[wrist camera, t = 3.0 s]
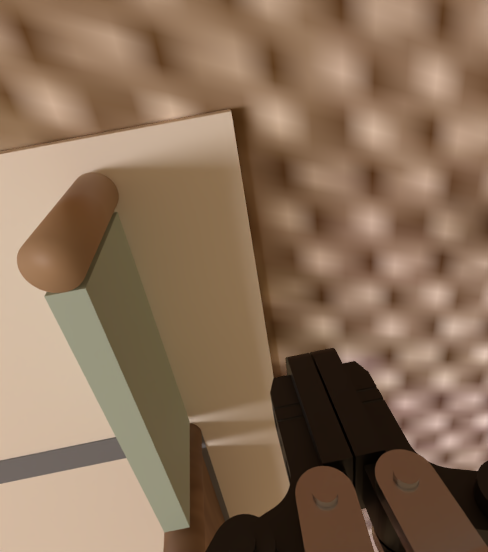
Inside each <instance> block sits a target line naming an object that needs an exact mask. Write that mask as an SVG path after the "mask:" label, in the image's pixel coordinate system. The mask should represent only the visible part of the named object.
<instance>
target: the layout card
mask: <svg viewBox="0 0 488 552" xmlns="http://www.w3.org/2000/svg"><path fill="white" fill-rule="evenodd" d="M89 172H95V173H100V174H103V175H105V176H107V177H108V178H109V179H111V180H112V181H113V183H114V184H115V185H116V187H117V190H118V193H119V200H118V204H117V206H116V208H115V210H114V213H115V212H118V215H119V218H120V221H121V224H122V227H123V229H124V232H125V235H126V238H127V241H128V244H129V247H130V250H131V253H132V256H133V259H134V261H135V264H136V267H137V270H138V273H139V276H140V279H141V282H142V285H143V288H144V290H145V293H146V296H147V299H148V302H149V305H150V308H151V311H152V314H153V317H154V320H155V322H156V325H157V328H158V331H159V334H160V337H161V340H162V343H163V346H164V349H165V351H166V354H167V357H168V360H169V363H170V366H171V369H172V372H173V375H174V378H175V381H176V383H177V386H178V389H179V392H180V395H181V398H182V401H183V404H184V407H185V410H186V413H187V415H188V418H189V421H190V423H191V424H195V425H197V426H198V427H199V428H200V429H201V433H202V455H203V458H204V461H205V464H206V467H207V470H208V473H209V476H210V479H211V482H212V485H213V487H214V490H215V493H216V496H217V499H218V502H219V505H220V508H221V511H222V514H223V517H224V520H225V521H226V520H228V519H229V518H231V517H233V516H236V515H239V514H251V515H255V516H257V517H260V516H262V515H263V514H265V513H266V512H268V511H269V510H271V509H273V508H274V507H275V506H277V505H278V504H279V503H280V502H281V501H282V500H283V498H284V497H285V496H286V494H287V492H288V489H289V486H290V484H289V480H288V476H287V472H286V467H285V463H284V459H283V455H282V451H281V447H280V443H279V439H278V435H277V431H276V427H275V421H274V415H273V409H272V402H271V396H270V391H271V386H272V382H273V378H274V376H273V370H272V363H271V357H270V351H269V345H268V338H267V332H266V326H265V320H264V313H263V307H262V301H261V295H260V288H259V282H258V276H257V270H256V263H255V257H254V251H253V245H252V238H251V232H250V226H249V220H248V213H247V207H246V201H245V195H244V188H243V182H242V176H241V170H240V163H239V157H238V151H237V145H236V138H235V132H234V126H233V120H232V113H231V110H230V109H227V110H222V111H217V112H211V113H206V114H200V115H195V116H190V117H184V118H179V119H173V120H168V121H163V122H157V123H152V124H147V125H141V126H136V127H130V128H125V129H120V130H114V131H109V132H103V133H98V134H93V135H87V136H82V137H76V138H71V139H66V140H60V141H55V142H49V143H44V144H39V145H33V146H28V147H23V148H17V149H12V150H6V151H1V152H0V552H163V548H164V531H163V529H162V527H161V525H160V523H159V521H158V519H157V517H156V515H155V513H154V511H153V509H152V507H151V505H150V503H149V501H148V499H147V497H146V495H145V493H144V491H143V489H142V487H141V485H140V484H139V482H138V480H137V478H136V476H135V474H134V472H133V470H132V468H131V466H130V464H129V462H128V460H127V458H126V456H125V454H124V452H123V450H122V448H121V446H120V444H119V442H118V440H117V438H116V436H115V434H114V432H113V430H112V429H111V427H110V425H109V423H108V421H107V419H106V417H105V415H104V413H103V411H102V409H101V407H100V405H99V403H98V401H97V399H96V397H95V395H94V393H93V391H92V389H91V387H90V385H89V383H88V381H87V379H86V377H85V375H84V374H83V372H82V370H81V368H80V366H79V364H78V362H77V360H76V358H75V356H74V354H73V352H72V350H71V348H70V346H69V344H68V342H67V340H66V338H65V336H64V334H63V332H62V330H61V328H60V326H59V324H58V322H57V320H56V319H55V317H54V315H53V313H52V311H51V309H50V307H49V305H48V303H47V301H46V299H45V297H44V296H45V294H46V291H43V290H40V289H38V288H36V287H34V286H33V285H31V284H30V283H29V282H27V281H26V280H25V278H24V277H23V276H22V274H21V273H20V271H19V269H18V265H17V254H18V251H19V249H20V248H21V246H22V245H23V244H24V243H25V241H26V240H27V239H28V238H29V237H30V235H31V234H32V233H33V232H34V230H35V229H36V228H37V227H38V226H39V224H40V223H41V222H42V221H43V219H44V218H45V217H46V216H47V215H48V213H49V212H50V211H51V210H52V208H53V207H54V206H55V205H56V204H57V202H58V201H59V200H60V199H61V197H62V196H63V195H64V194H65V193H66V191H67V190H68V189H69V188H70V186H71V185H72V184H73V183H74V182H75V180H76V179H77V178H78V177H79V176H81V175H82V174H85V173H89Z"/></svg>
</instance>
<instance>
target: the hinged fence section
mask: <svg viewBox="0 0 488 552" xmlns="http://www.w3.org/2000/svg"><path fill="white" fill-rule="evenodd" d="M118 200H119V193H118V190H117V187H116V185H115V184H114V183H113V181H112V180H111V179H109V178H108V177H107V176H105V175H103V174H100V173H95V172H89V173H85V174H82V175H81V176H79V177H78V178H77V179H76V180H75V182H74V183H73V184H72V185H71V186H70V188H69V189H68V190H67V191H66V193H65V194H64V195H63V196H62V197H61V199H60V200H59V201H58V202H57V204H56V205H55V206H54V207H53V208H52V210H51V211H50V212H49V213H48V215H47V216H46V217H45V218H44V219H43V221H42V222H41V223H40V224H39V226H38V227H37V228H36V229H35V230H34V232H33V233H32V234H31V235H30V237H29V238H28V239H27V240H26V241H25V243H24V244H23V245H22V246H21V248H20V249H19V251H18V254H17V265H18V269H19V271H20V273H21V274H22V276H23V277H24V278H25V280H26V281H27V282H29V283H30V284H31V285H33V286H34V287H36V288H38V289H40V290H43V291H46V294H45V296H44V297H45V299H46V301H47V303H48V305H49V307H50V309H51V311H52V313H53V315H54V317H55V319H56V320H57V322H58V324H59V326H60V328H61V330H62V332H63V334H64V336H65V338H66V340H67V342H68V344H69V346H70V348H71V350H72V352H73V354H74V356H75V358H76V360H77V362H78V364H79V366H80V368H81V370H82V372H83V374H84V375H85V377H86V379H87V381H88V383H89V385H90V387H91V389H92V391H93V393H94V395H95V397H96V399H97V401H98V403H99V405H100V407H101V409H102V411H103V413H104V415H105V417H106V419H107V421H108V423H109V425H110V427H111V429H112V430H113V432H114V434H115V436H116V438H117V440H118V442H119V444H120V446H121V448H122V450H123V452H124V454H125V456H126V458H127V460H128V462H129V464H130V466H131V468H132V470H133V472H134V474H135V476H136V478H137V480H138V482H139V484H140V485H141V487H142V489H143V491H144V493H145V495H146V497H147V499H148V501H149V503H150V505H151V507H152V509H153V511H154V513H155V515H156V517H157V519H158V521H159V523H160V525H161V527H162V529H163V531H164V532H169V531H174V530H179V529H184V528H188V527H190V421H189V418H188V415H187V413H186V410H185V407H184V404H183V401H182V398H181V395H180V392H179V389H178V386H177V383H176V381H175V378H174V375H173V372H172V369H171V366H170V363H169V360H168V357H167V354H166V351H165V349H164V346H163V343H162V340H161V337H160V334H159V331H158V328H157V325H156V322H155V320H154V317H153V314H152V311H151V308H150V305H149V302H148V299H147V296H146V293H145V290H144V288H143V285H142V282H141V279H140V276H139V273H138V270H137V267H136V264H135V261H134V259H133V256H132V253H131V250H130V247H129V244H128V241H127V238H126V235H125V232H124V229H123V227H122V224H121V221H120V218H119V215H118V212H115V213H114V210H115V208H116V206H117V204H118Z"/></svg>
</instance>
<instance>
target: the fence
mask: <svg viewBox="0 0 488 552" xmlns="http://www.w3.org/2000/svg"><path fill="white" fill-rule="evenodd" d="M224 522H225V520H224V517H223V514H222V511H221V508H220V505H219V502H218V499H217V496H216V493H215V490H214V487H213V485H212V482H211V479H210V476H209V473H208V470H207V467H206V464H205V461H204V458H203V455H202V433H201V429H200V428H199V427H198V426H197V425H195V424H191V423H190V527H188V528H184V529H179V530H174V531H169V532H164V548H163V552H205V551H206V549H207V548H208V546H209V544H210V542H211V541H212V539H213V537H214V535H215V533H216V532H217V530H218V529H219V527H220V526H221V525H222V524H223V523H224Z"/></svg>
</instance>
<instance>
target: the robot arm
mask: <svg viewBox="0 0 488 552" xmlns="http://www.w3.org/2000/svg"><path fill="white" fill-rule="evenodd" d="M286 368H287V375H286V376H282V377H277V378H273V382H272V386H271V391H270V396H271V402H272V409H273V415H274V421H275V427H276V431H277V435H278V439H279V443H280V447H281V451H282V455H283V459H284V463H285V467H286V472H287V476H288V480H289V484H290V486H289V489H288V492H287V494H286V496H285V497H284V498H283V500H282V501H281V502H280V503H279V504H278V505H277V506H275V507H274V508H273V509H271V510H269V511H268V512H266V513H265V514H263V515H262V516H260V517H257V516H255V515H251V514H239V515H236V516H233V517H231V518H229V519H228V520H226V521H225V522H224V523H223V524H222V525H221V526H220V527H219V529H218V530H217V532H216V533H215V535H214V537H213V539H212V541H211V542H210V544H209V546H208V548H207V549H206V551H205V552H374V549H373V546H372V543H371V540H370V536H369V533H368V530H367V527H366V523H365V520H364V517H363V514H362V510H361V509H364V508H366V510H367V512H368V515H369V517H370V520H371V522H372V536H373V539H374V542H375V545H376V547H377V549H378V551H379V552H488V461H487V462H485V463H484V464H482V465H481V467H480V468H479V470H478V471H470V470H461V469H451V468H445V467H441V466H437V465H435V464H432V463H430V462H428V461H427V460H426V459H425V458H423V457H422V456H420V455H418V454H417V453H416V452H415V451H414V450H413V448H412V447H411V446H410V444H409V443H408V441H407V439H406V437H405V435H404V434H403V432H402V430H401V428H400V427H399V425H398V423H397V421H396V420H395V418H394V416H393V414H392V413H391V411H390V409H389V407H388V406H387V404H386V402H385V400H383V397H382V395H381V393H380V392H379V390H378V389H377V387H376V385H375V383H374V381H373V379H372V378H371V376H370V374H369V372H368V371H366V370H365V369H364V368H363V367H361V366H360V365H359V364H358V363H356V362H355V361H353V362H348V363H343V364H342V362H341V360H340V358H339V356H338V354H337V352H336V350H335V349H334V348H330V349H325V350H320V351H315V352H310V354H309V353H306V354H301V355H296V356H291V357H287V358H286Z"/></svg>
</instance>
